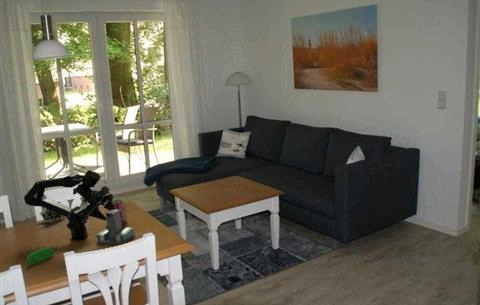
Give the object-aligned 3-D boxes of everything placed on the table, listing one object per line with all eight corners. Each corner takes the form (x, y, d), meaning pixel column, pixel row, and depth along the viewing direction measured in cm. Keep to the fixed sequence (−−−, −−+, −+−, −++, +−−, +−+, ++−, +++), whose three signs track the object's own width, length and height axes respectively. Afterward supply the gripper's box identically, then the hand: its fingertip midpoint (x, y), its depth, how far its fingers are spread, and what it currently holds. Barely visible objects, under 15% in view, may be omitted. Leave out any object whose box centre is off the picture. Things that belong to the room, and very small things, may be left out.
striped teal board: (97, 243, 200) (95, 232, 199) (109, 234, 210) (108, 223, 209) (123, 244, 196) (122, 233, 195) (134, 235, 207) (133, 224, 205)
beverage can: (126, 219, 230) (123, 198, 228) (127, 224, 223) (124, 202, 220) (111, 222, 228) (108, 200, 225) (111, 226, 220) (108, 204, 218)
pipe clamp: (49, 254, 191) (47, 245, 190) (54, 256, 188) (52, 246, 188) (25, 264, 182) (23, 254, 181) (29, 266, 180) (28, 256, 179)
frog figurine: (28, 225, 232) (24, 205, 230) (54, 214, 249) (51, 195, 246) (52, 228, 226) (49, 207, 223) (77, 216, 242) (74, 197, 239)
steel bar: (109, 239, 201) (105, 213, 199) (114, 234, 206) (111, 209, 203) (117, 239, 200) (114, 213, 197) (122, 235, 205) (119, 209, 202)
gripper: (85, 188, 190) (110, 212, 190) (107, 177, 208) (130, 199, 208) (72, 204, 194) (96, 228, 193) (95, 192, 212) (117, 214, 211)
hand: (111, 216), depth 201 cm, fingers open, 9 cm apart
